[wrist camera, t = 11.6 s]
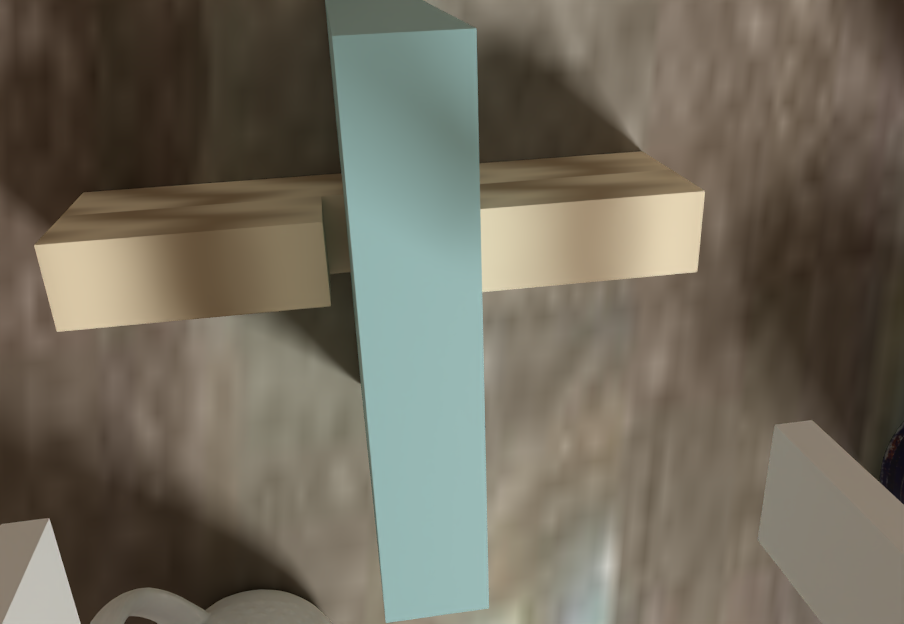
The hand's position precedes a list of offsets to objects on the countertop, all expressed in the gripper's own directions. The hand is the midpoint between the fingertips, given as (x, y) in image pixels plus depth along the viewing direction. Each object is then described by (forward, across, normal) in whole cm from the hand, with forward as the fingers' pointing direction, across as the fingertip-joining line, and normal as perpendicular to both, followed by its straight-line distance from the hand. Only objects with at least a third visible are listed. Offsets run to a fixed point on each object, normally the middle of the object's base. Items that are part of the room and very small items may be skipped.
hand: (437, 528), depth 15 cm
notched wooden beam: (+20, +1, 0) cm, 20 cm away
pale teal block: (+20, +1, 0) cm, 20 cm away
